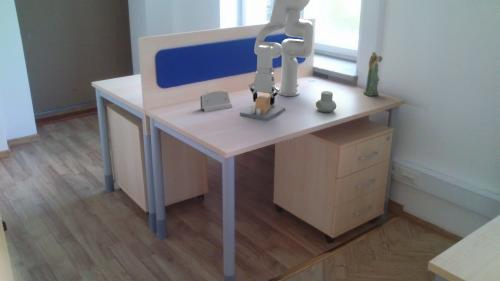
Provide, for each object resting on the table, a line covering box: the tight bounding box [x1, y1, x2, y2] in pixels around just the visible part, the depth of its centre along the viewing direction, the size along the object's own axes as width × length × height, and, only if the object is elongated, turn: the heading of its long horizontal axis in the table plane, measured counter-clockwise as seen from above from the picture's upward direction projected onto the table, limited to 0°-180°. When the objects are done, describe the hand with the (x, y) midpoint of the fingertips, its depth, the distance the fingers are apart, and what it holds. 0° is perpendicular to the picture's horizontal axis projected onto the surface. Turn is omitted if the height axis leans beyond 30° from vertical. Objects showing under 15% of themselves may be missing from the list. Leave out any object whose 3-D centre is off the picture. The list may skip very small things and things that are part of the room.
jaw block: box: [254, 92, 271, 114], centre depth 247 cm, size 12×5×7 cm, turn 162°
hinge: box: [199, 90, 233, 113], centre depth 253 cm, size 17×5×10 cm, turn 121°
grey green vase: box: [315, 90, 337, 113], centre depth 252 cm, size 11×8×10 cm
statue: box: [363, 51, 383, 97], centre depth 278 cm, size 7×8×25 cm
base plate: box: [239, 101, 286, 122], centre depth 248 cm, size 20×16×4 cm
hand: (263, 102), depth 247 cm, fingers open, 9 cm apart
